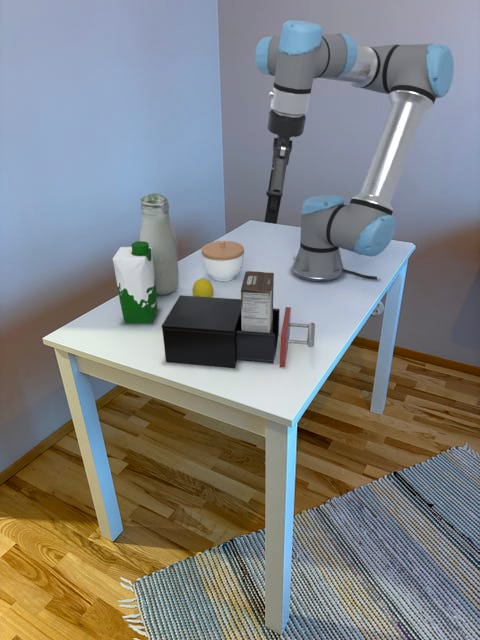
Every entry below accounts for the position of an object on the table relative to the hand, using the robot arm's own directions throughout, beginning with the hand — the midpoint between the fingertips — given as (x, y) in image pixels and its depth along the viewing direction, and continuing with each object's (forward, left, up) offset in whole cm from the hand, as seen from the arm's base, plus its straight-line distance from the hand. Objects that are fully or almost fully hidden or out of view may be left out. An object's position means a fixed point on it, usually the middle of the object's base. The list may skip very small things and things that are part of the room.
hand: (271, 209), depth 107 cm
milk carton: (+33, 0, -28) cm, 44 cm away
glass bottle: (+29, -14, -28) cm, 43 cm away
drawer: (+1, +18, -27) cm, 32 cm away
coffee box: (+4, +17, -26) cm, 32 cm away
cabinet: (+15, +15, -28) cm, 35 cm away
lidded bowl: (+12, -24, -28) cm, 39 cm away
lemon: (+17, -6, -28) cm, 34 cm away
